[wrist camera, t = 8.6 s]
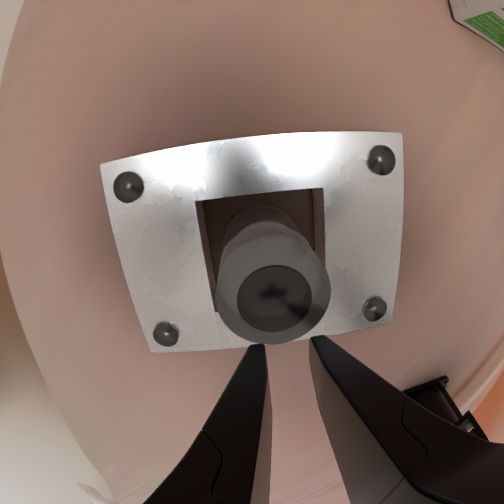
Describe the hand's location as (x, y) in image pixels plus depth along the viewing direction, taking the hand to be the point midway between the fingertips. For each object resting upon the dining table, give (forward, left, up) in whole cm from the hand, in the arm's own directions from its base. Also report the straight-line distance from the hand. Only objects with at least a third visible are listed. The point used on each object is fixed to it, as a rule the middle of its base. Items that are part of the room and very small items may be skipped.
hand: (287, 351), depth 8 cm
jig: (0, 0, -10) cm, 10 cm away
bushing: (0, 0, -10) cm, 10 cm away
